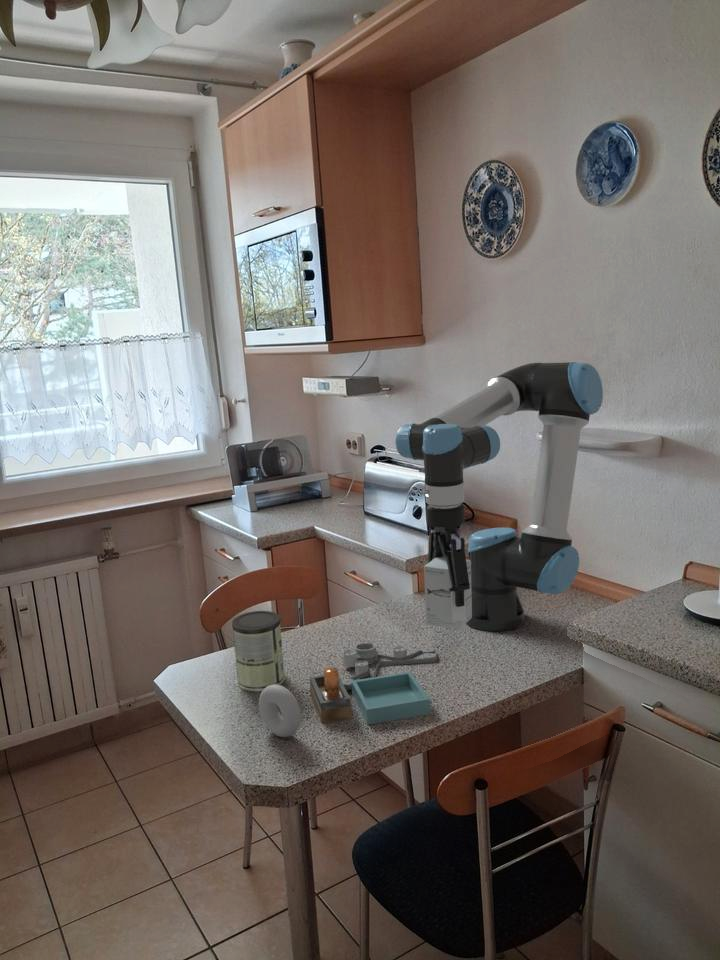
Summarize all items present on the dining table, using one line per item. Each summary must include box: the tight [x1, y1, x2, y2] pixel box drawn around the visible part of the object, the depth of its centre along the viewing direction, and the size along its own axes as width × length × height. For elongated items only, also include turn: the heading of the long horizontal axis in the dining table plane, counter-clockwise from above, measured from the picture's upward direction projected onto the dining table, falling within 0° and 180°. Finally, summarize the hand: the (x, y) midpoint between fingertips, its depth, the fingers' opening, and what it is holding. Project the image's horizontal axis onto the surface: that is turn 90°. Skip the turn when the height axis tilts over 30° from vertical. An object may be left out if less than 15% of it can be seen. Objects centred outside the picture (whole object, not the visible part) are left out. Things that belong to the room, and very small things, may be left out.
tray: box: [351, 671, 431, 726], centre depth 153 cm, size 13×13×3 cm
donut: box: [258, 684, 302, 738], centre depth 143 cm, size 10×3×10 cm, turn 48°
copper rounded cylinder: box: [322, 666, 343, 701], centre depth 150 cm, size 4×4×6 cm
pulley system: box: [341, 642, 438, 692], centre depth 171 cm, size 27×5×15 cm
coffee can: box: [231, 610, 286, 693], centre depth 165 cm, size 10×10×14 cm
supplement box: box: [423, 557, 472, 631], centre depth 155 cm, size 7×7×13 cm
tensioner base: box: [309, 674, 353, 724], centre depth 154 cm, size 6×12×4 cm, turn 14°
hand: (449, 610), depth 156 cm, fingers closed on supplement box, 10 cm apart
